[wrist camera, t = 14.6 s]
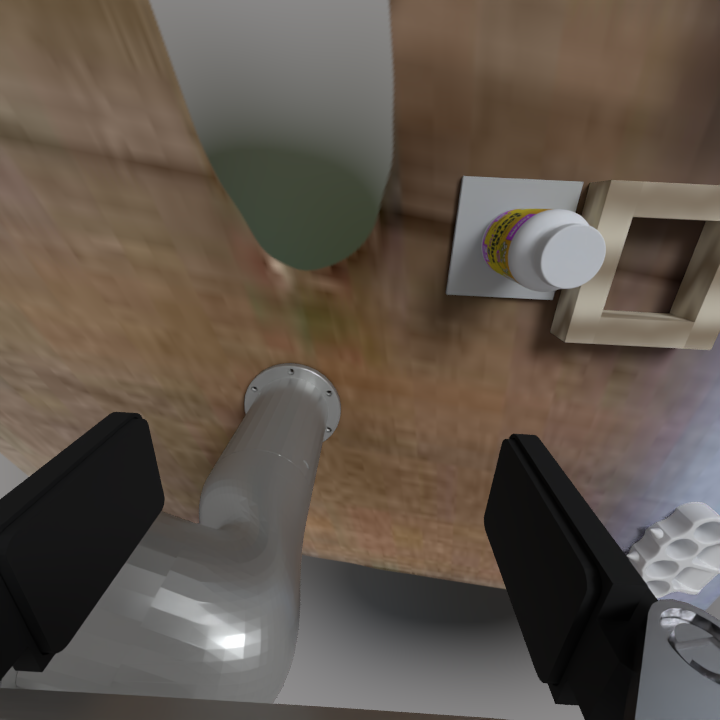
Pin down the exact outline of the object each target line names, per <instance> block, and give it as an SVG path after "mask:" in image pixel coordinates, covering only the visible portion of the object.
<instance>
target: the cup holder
mask: <svg viewBox="0 0 720 720" xmlns="http://www.w3.org/2000/svg"><path fill="white" fill-rule="evenodd" d="M581 216H582V217H583V218H584V219H585V220H586V221H587V222H588V224H589V225H590V226H591V227H593V228H595V229H597V230H598V231H599V232H600V234H601V235H602V237H603V238H604V241H605V245H606V254H605V258H604V261H603V264H602V266H601V268H600V270H599V271H598V272H597V274H596V275H595V276H594V277H593V278H592V279H591V280H589V281H588V282H586V283H585V284H583V285H581V286H579V287H576V288H571V289H561V293H560V297H559V301H558V304H557V308H556V312H555V315H554V319H553V323H552V327H551V330H550V333H552V334H553V335H555V336H556V337H558V338H559V339H561V340H562V341H564V342H569V343H588V344H607V345H626V346H645V347H664V348H683V349H703V350H711V349H712V346H713V344H714V342H715V340H716V338H717V336H718V334H719V331H720V185H702V184H681V183H661V182H640V181H619V180H609V181H601V182H593V183H590V185H589V189H588V192H587V196H586V200H585V204H584V207H583V211H582V215H581ZM633 217H638V218H659V219H679V220H700V221H706V222H705V225H704V227H703V230H702V232H701V235H700V237H699V240H698V242H697V245H696V247H695V250H694V253H693V255H692V258H691V260H690V263H689V265H688V268H687V270H686V273H685V275H684V278H683V280H682V283H681V285H680V288H679V290H678V293H677V295H676V298H675V300H674V303H673V305H672V308H671V310H670V313H650V312H630V311H611V310H603V308H604V305H605V302H606V299H607V296H608V293H609V290H610V286H611V283H612V280H613V277H614V274H615V271H616V268H617V265H618V262H619V258H620V255H621V252H622V249H623V246H624V243H625V240H626V237H627V234H628V230H629V227H630V224H631V221H632V218H633Z"/></svg>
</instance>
